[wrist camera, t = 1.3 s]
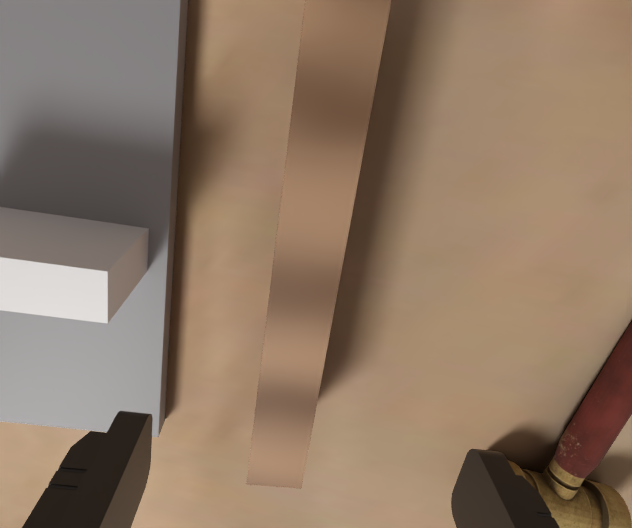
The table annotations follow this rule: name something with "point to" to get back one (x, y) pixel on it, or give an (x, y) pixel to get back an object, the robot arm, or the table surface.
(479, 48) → the table surface
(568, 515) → the gavel
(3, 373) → the fulcrum stand
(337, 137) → the walnut bar
